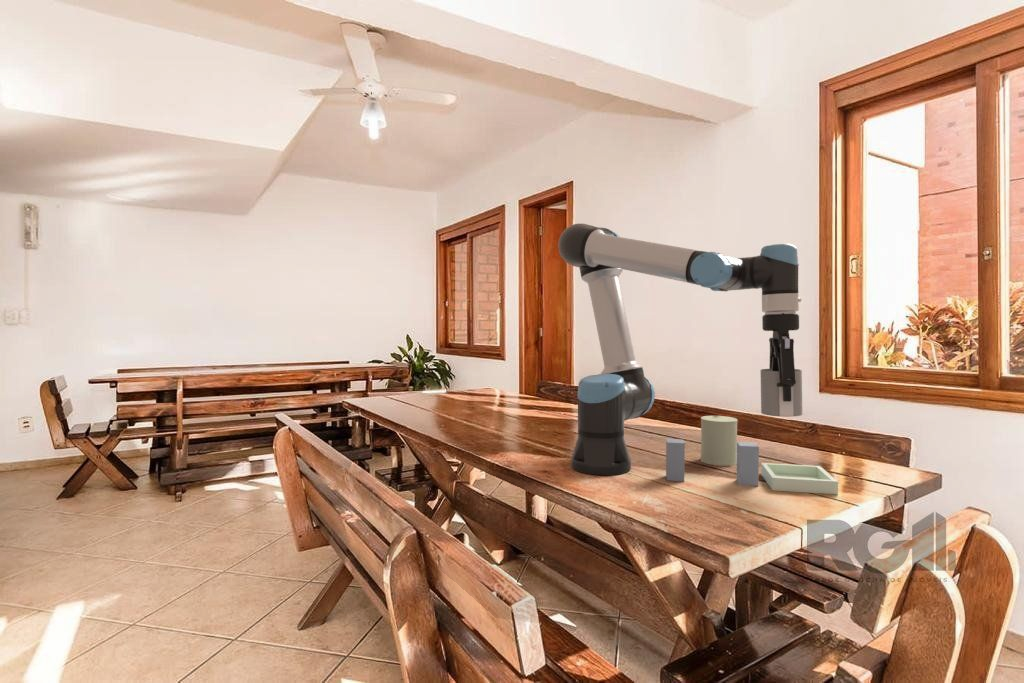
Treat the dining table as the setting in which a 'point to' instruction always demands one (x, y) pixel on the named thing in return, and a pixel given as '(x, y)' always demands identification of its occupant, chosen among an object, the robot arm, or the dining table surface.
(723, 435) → the can
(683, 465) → the block
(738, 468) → the block
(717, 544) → the dining table surface
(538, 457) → the dining table surface
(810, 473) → the tray
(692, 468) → the dining table surface
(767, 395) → the cup
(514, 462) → the dining table surface
